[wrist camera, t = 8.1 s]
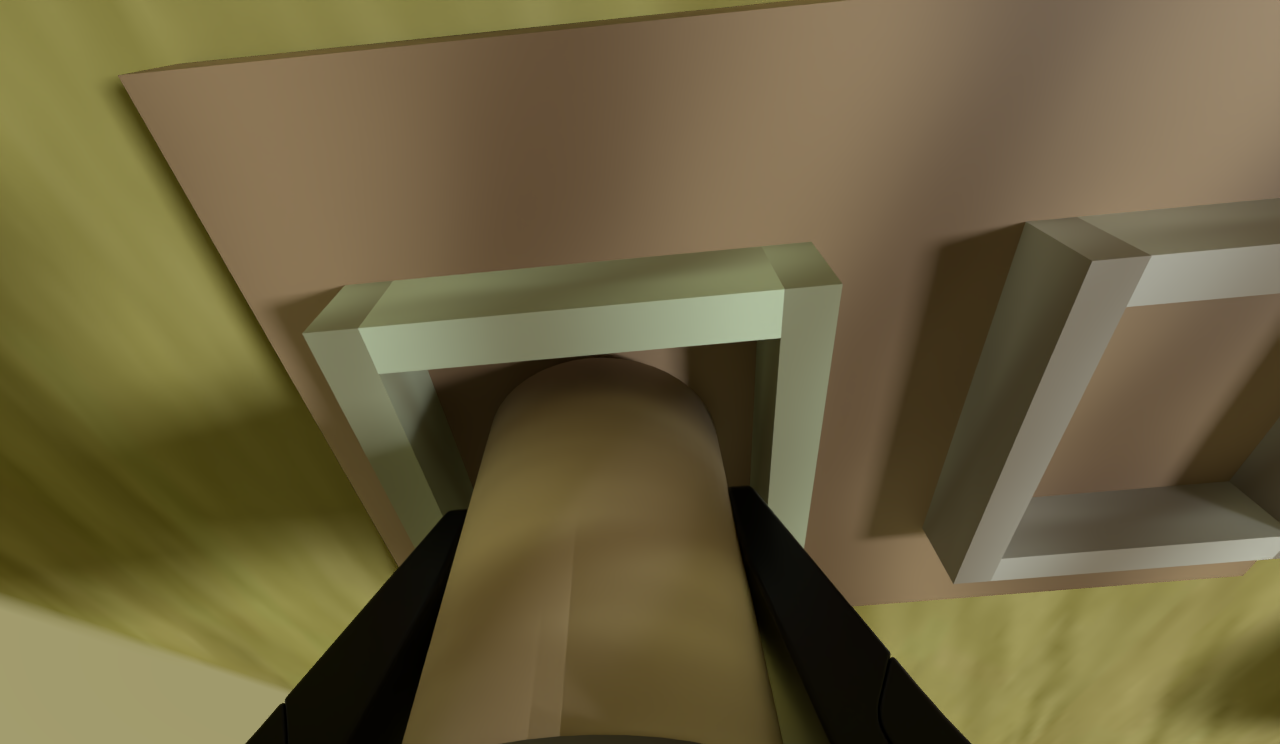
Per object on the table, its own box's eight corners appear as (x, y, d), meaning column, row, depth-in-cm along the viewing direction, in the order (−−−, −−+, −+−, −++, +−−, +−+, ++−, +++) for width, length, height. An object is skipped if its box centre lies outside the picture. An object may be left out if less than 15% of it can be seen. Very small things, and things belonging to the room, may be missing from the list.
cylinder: (719, 343, 9) (876, 914, 4) (719, 516, 12) (811, 1002, 6) (458, 367, 9) (217, 956, 4) (515, 532, 12) (424, 1026, 6)
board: (1726, -97, 8) (2178, -128, 5) (1204, 538, 16) (1298, 628, 14) (177, 63, 8) (15, 95, 6) (450, 599, 16) (424, 695, 14)
